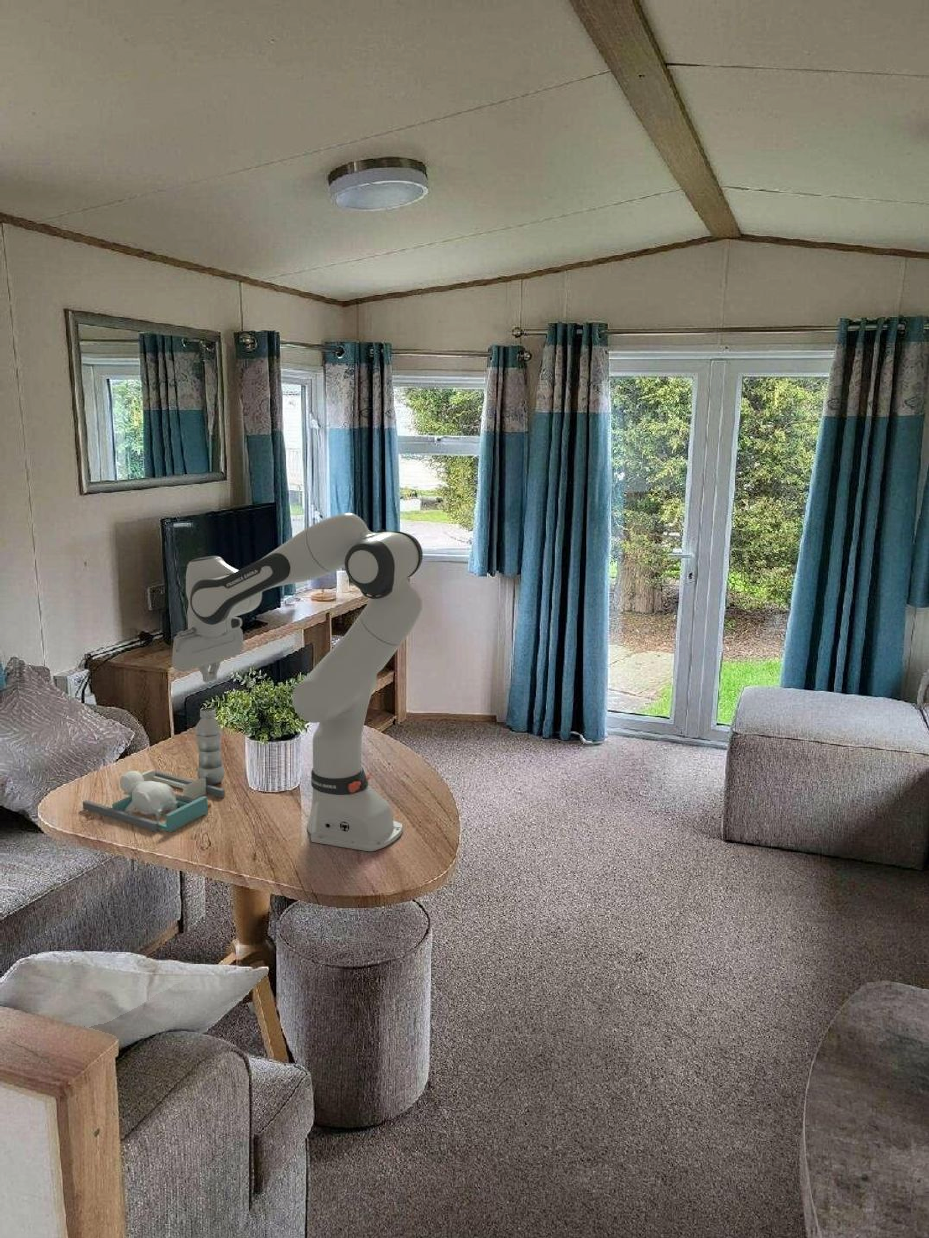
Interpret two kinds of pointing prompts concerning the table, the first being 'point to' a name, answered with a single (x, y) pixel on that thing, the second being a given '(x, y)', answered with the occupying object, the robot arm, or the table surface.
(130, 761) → the table surface
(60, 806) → the table surface
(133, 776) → the white animal figurine
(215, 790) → the lane rails
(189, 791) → the grey elongated piece
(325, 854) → the table surface
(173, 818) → the teal sled
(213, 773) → the plastic bottle
